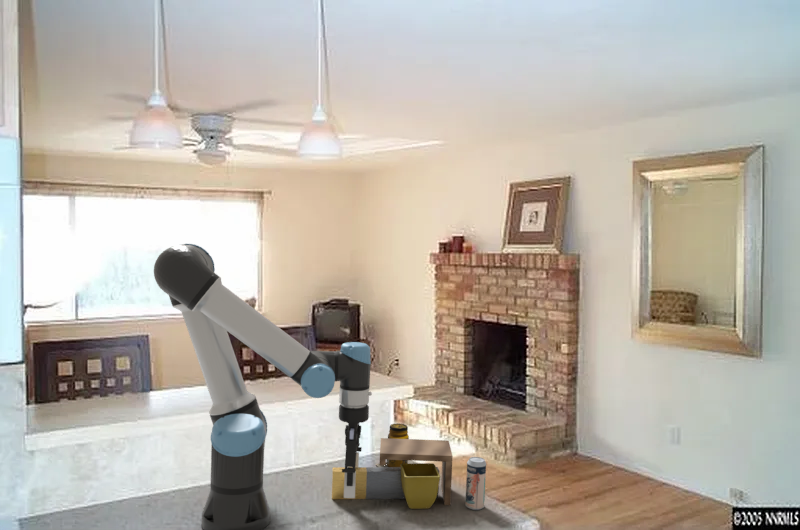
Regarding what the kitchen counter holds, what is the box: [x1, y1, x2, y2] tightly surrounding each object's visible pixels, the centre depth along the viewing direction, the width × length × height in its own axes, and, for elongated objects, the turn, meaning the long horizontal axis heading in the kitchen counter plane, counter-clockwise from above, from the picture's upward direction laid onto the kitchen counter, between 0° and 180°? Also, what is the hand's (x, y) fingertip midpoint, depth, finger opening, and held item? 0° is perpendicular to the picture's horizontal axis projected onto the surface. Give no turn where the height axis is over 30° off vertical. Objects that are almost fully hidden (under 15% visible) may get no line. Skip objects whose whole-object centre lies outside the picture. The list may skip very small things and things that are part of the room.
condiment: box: [374, 422, 410, 467], centre depth 191 cm, size 7×8×12 cm
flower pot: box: [401, 462, 441, 510], centre depth 165 cm, size 9×9×9 cm
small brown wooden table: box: [378, 437, 453, 506], centre depth 171 cm, size 18×12×12 cm, turn 91°
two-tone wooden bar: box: [331, 466, 440, 500], centre depth 170 cm, size 27×3×7 cm, turn 97°
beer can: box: [464, 456, 487, 511], centre depth 165 cm, size 5×5×12 cm
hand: (351, 487), depth 169 cm, fingers open, 13 cm apart
